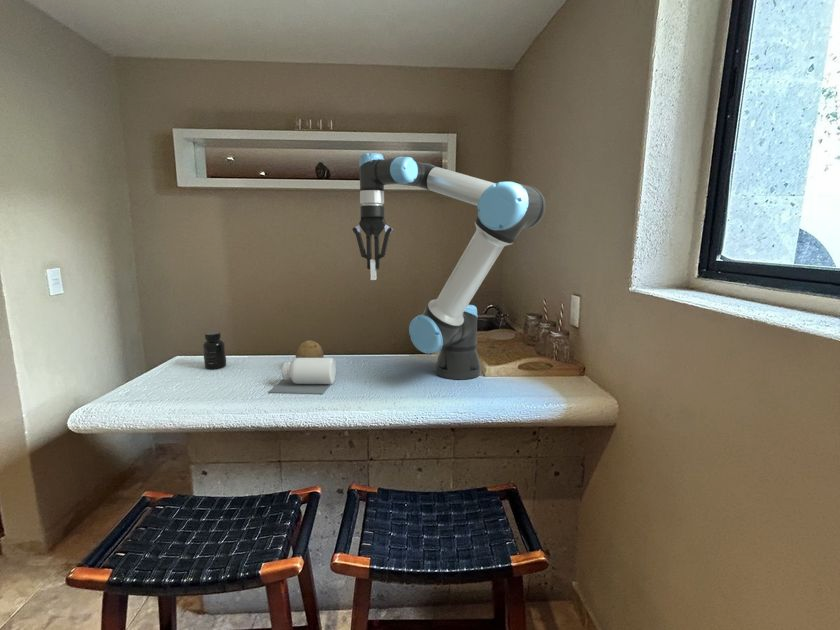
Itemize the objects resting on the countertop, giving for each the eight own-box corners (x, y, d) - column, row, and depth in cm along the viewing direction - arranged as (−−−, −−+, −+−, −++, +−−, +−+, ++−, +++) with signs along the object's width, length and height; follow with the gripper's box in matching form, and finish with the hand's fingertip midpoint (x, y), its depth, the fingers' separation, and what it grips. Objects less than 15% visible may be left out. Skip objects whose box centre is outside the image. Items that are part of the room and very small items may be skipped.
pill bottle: (329, 374, 131) (278, 374, 131) (333, 389, 137) (285, 389, 137) (332, 352, 136) (283, 352, 136) (337, 367, 142) (290, 367, 142)
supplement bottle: (210, 363, 158) (208, 330, 156) (230, 364, 158) (227, 330, 156) (200, 369, 151) (197, 335, 149) (220, 370, 151) (217, 335, 149)
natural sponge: (290, 371, 150) (289, 342, 148) (305, 364, 158) (304, 336, 156) (314, 374, 147) (313, 344, 145) (328, 366, 155) (327, 338, 153)
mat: (335, 378, 143) (335, 377, 143) (322, 394, 129) (322, 393, 129) (285, 377, 144) (285, 376, 144) (268, 393, 130) (268, 391, 130)
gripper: (394, 205, 146) (394, 278, 150) (354, 205, 147) (356, 278, 151) (391, 204, 138) (391, 280, 143) (349, 204, 139) (351, 280, 144)
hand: (373, 279), depth 147 cm, fingers closed
